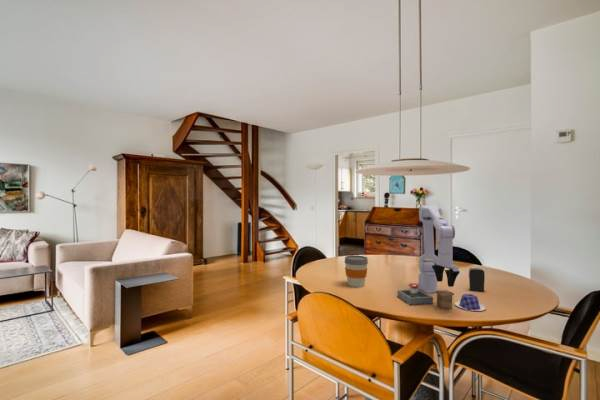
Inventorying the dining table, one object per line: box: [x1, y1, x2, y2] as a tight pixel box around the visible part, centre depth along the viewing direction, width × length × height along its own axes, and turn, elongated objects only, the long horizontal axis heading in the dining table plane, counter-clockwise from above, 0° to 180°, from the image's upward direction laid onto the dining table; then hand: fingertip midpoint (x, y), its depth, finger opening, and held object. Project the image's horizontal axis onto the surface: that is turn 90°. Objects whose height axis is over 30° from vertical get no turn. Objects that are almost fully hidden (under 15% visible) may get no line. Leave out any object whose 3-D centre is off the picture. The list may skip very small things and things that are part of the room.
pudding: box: [454, 293, 486, 312], centre depth 133 cm, size 12×12×5 cm
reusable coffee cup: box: [344, 255, 369, 288], centre depth 166 cm, size 13×13×15 cm
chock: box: [435, 289, 455, 310], centre depth 133 cm, size 5×6×7 cm
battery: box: [468, 267, 486, 292], centre depth 156 cm, size 7×4×11 cm, turn 70°
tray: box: [396, 288, 434, 306], centre depth 142 cm, size 12×11×3 cm
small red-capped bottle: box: [408, 282, 419, 298], centre depth 142 cm, size 4×4×7 cm
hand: (445, 283), depth 132 cm, fingers open, 7 cm apart
